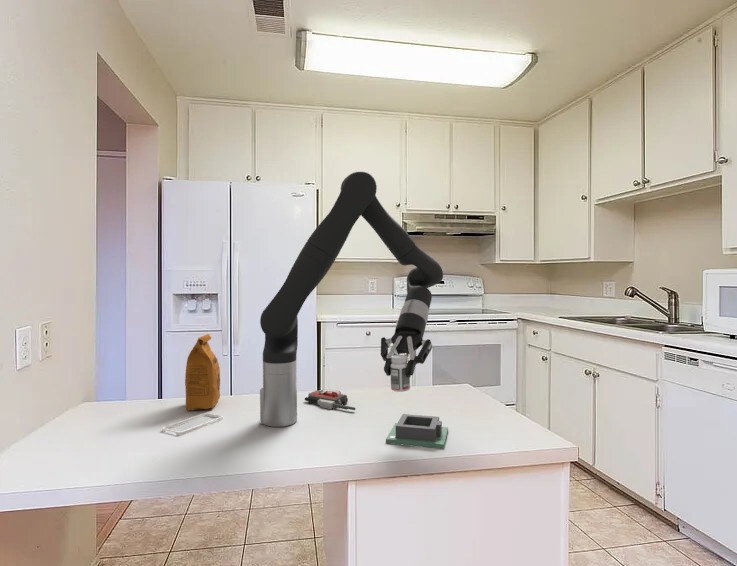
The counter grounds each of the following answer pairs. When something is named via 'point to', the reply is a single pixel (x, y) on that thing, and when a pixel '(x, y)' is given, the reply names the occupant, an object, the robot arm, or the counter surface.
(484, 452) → the counter surface
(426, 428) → the socket board
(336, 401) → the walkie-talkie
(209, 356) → the coffee package
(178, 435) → the phone case
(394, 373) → the pill bottle
